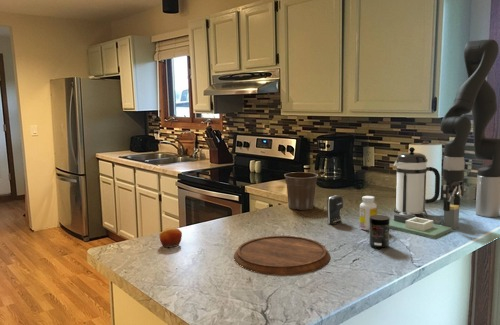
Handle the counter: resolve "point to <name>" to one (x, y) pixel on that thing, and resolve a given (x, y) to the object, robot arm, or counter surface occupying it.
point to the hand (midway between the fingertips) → (451, 209)
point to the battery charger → (334, 209)
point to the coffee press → (413, 183)
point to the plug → (452, 217)
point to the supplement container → (379, 231)
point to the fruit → (170, 237)
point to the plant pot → (301, 189)
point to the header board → (417, 225)
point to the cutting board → (282, 255)
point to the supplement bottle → (367, 211)
